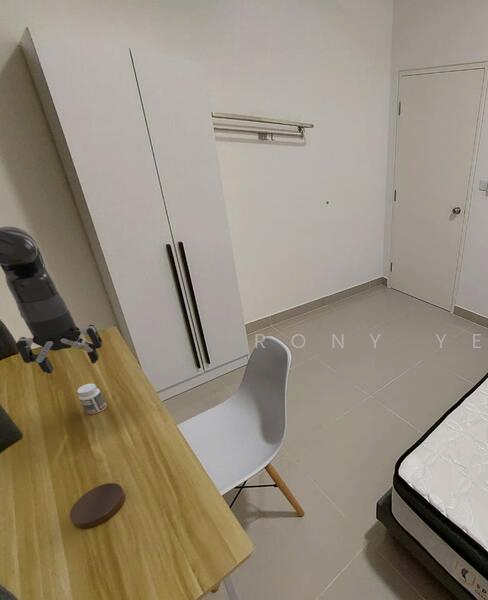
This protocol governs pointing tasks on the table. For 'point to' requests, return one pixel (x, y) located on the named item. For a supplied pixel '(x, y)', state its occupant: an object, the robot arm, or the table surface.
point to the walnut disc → (97, 505)
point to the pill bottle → (91, 398)
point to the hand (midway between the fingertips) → (73, 366)
